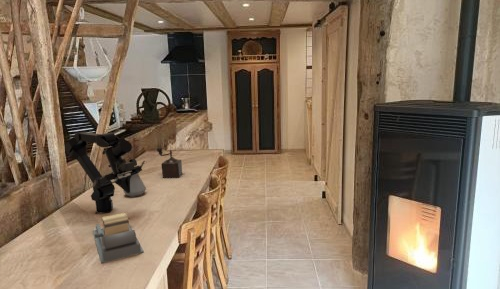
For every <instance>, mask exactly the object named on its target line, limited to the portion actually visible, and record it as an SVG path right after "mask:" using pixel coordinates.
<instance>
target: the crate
mask: <svg viewBox="0 0 500 289" xmlns="http://www.w3.org/2000/svg"><path fill="white" fill-rule="evenodd" d="M101 220H102V221H101V222H102V226H103V228H104V230H103V231H104V236H109V235H113V234H118V233H122V232H127V231H129V224H130V222H129V221H130V220H129V217H128V216H127V214H126V213H125V212H121V213H116V214H110V215H107V216H102V218H101ZM103 228H102V229H103Z"/></svg>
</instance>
